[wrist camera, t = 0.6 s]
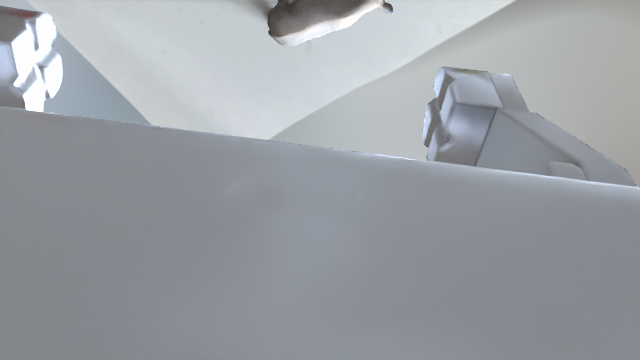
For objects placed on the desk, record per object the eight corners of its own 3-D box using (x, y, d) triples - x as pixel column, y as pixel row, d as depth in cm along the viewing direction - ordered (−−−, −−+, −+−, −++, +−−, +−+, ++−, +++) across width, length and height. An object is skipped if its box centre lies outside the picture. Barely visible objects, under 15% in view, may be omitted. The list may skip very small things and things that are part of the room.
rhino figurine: (413, -10, 52) (420, 16, 47) (276, 35, 55) (270, 63, 51) (402, -54, 50) (408, -31, 45) (260, -4, 53) (251, 22, 48)
